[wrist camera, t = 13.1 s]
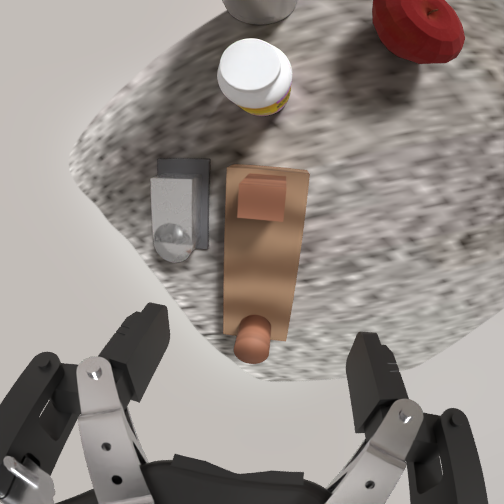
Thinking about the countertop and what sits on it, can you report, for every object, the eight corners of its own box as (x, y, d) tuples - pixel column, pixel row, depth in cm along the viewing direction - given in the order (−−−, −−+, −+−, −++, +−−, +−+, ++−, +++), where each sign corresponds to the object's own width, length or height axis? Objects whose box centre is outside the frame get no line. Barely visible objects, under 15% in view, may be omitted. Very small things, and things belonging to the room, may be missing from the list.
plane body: (233, 164, 33) (210, 176, 23) (306, 170, 32) (316, 185, 22) (228, 318, 42) (212, 369, 32) (286, 325, 42) (284, 378, 32)
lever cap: (164, 173, 34) (150, 178, 30) (202, 174, 33) (191, 179, 30) (166, 248, 38) (154, 260, 34) (201, 252, 38) (192, 265, 34)
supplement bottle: (283, 122, 30) (282, 112, 18) (229, 111, 30) (198, 97, 19) (295, 72, 27) (301, 36, 16) (241, 62, 28) (217, 24, 16)
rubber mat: (159, 158, 34) (157, 159, 33) (209, 159, 33) (208, 159, 32) (162, 242, 38) (160, 244, 38) (208, 247, 38) (207, 249, 37)
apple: (445, 56, 22) (493, 38, 12) (399, 88, 26) (445, 72, 15) (393, -4, 20) (425, -41, 9) (342, 23, 24) (363, -18, 13)
